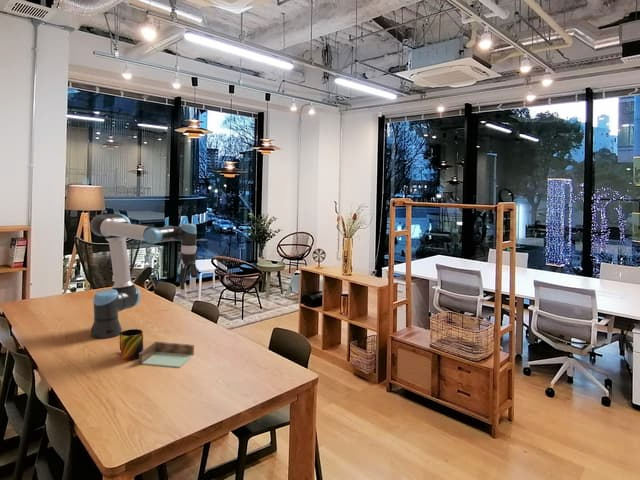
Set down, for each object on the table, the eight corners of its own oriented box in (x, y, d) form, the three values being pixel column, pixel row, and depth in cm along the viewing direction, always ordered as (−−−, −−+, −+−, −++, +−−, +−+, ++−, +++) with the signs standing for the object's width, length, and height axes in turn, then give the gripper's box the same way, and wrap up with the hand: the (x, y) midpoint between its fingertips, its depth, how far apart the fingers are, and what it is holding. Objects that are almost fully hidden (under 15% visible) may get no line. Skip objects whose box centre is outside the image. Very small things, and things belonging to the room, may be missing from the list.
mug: (120, 351, 206) (120, 327, 205) (147, 354, 205) (147, 330, 203) (108, 359, 197) (107, 334, 196) (135, 361, 195) (135, 336, 194)
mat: (142, 364, 193) (142, 363, 193) (157, 352, 206) (157, 351, 206) (179, 367, 191) (179, 366, 191) (192, 356, 204) (192, 354, 204)
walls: (138, 364, 193) (138, 353, 192) (155, 351, 208) (155, 341, 208) (179, 367, 191) (179, 357, 190) (194, 354, 206) (194, 344, 206)
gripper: (186, 257, 211) (185, 298, 214) (203, 250, 236) (203, 287, 238) (171, 256, 212) (171, 297, 214) (190, 249, 236) (190, 286, 239)
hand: (188, 292), depth 226 cm, fingers open, 13 cm apart
